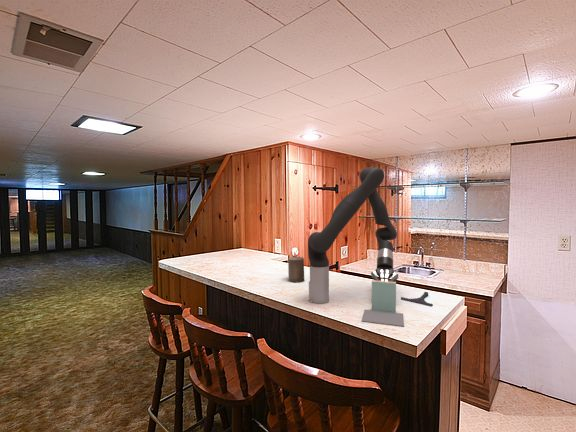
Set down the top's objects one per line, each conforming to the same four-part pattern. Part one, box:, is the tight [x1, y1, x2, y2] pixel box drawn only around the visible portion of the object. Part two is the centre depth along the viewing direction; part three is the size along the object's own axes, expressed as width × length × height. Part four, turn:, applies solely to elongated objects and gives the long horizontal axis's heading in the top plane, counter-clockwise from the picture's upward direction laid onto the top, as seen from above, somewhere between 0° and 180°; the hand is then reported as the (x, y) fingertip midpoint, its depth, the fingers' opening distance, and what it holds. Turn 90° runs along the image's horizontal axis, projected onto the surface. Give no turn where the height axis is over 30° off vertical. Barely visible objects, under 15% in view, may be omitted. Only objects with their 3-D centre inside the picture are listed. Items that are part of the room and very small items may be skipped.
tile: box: [371, 279, 397, 313], centre depth 132 cm, size 10×2×13 cm, turn 70°
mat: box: [361, 309, 405, 328], centre depth 124 cm, size 16×13×1 cm
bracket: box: [400, 291, 434, 308], centre depth 147 cm, size 14×15×3 cm
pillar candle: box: [287, 256, 305, 283], centre depth 183 cm, size 10×10×15 cm
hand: (384, 292), depth 137 cm, fingers closed
